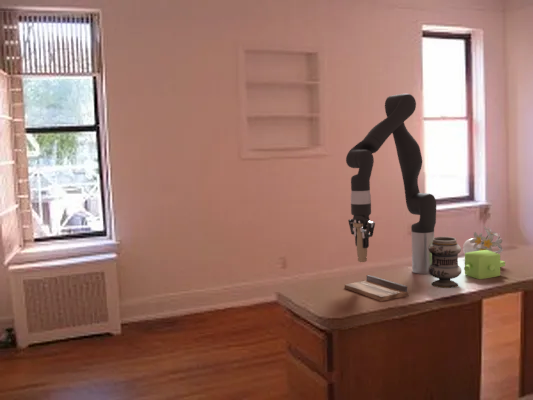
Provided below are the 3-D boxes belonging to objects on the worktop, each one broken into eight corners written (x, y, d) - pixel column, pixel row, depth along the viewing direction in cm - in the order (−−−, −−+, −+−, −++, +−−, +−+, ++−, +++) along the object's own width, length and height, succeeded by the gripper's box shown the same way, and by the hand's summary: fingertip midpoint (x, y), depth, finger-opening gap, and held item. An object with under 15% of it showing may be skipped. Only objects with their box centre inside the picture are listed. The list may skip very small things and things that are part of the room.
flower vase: (464, 272, 260) (483, 270, 235) (453, 234, 263) (471, 228, 238) (491, 266, 260) (513, 263, 235) (479, 227, 263) (500, 221, 238)
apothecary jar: (442, 290, 206) (441, 242, 204) (421, 283, 217) (421, 237, 215) (468, 286, 210) (468, 238, 209) (447, 279, 221) (446, 234, 220)
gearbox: (471, 283, 217) (471, 259, 216) (455, 276, 226) (455, 253, 225) (509, 276, 222) (509, 253, 221) (492, 270, 232) (492, 248, 230)
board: (369, 283, 221) (369, 274, 220) (408, 295, 201) (407, 286, 201) (344, 288, 215) (344, 279, 215) (381, 301, 196) (381, 291, 196)
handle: (373, 261, 214) (372, 222, 212) (358, 263, 211) (357, 224, 210) (366, 259, 218) (365, 221, 217) (351, 261, 216) (350, 222, 214)
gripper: (380, 202, 208) (381, 248, 210) (357, 200, 221) (358, 243, 222) (364, 204, 205) (365, 250, 206) (341, 201, 217) (343, 245, 219)
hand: (362, 246), depth 214 cm, fingers closed on handle, 4 cm apart
